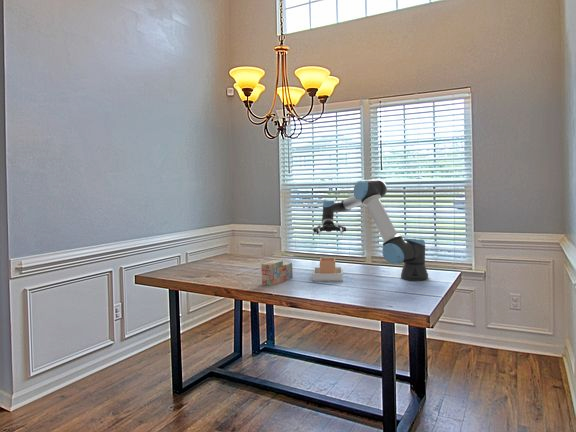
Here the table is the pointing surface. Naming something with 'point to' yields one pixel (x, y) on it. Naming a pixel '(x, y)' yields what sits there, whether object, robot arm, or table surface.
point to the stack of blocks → (276, 272)
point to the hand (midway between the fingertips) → (330, 232)
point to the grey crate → (327, 275)
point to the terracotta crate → (327, 265)
